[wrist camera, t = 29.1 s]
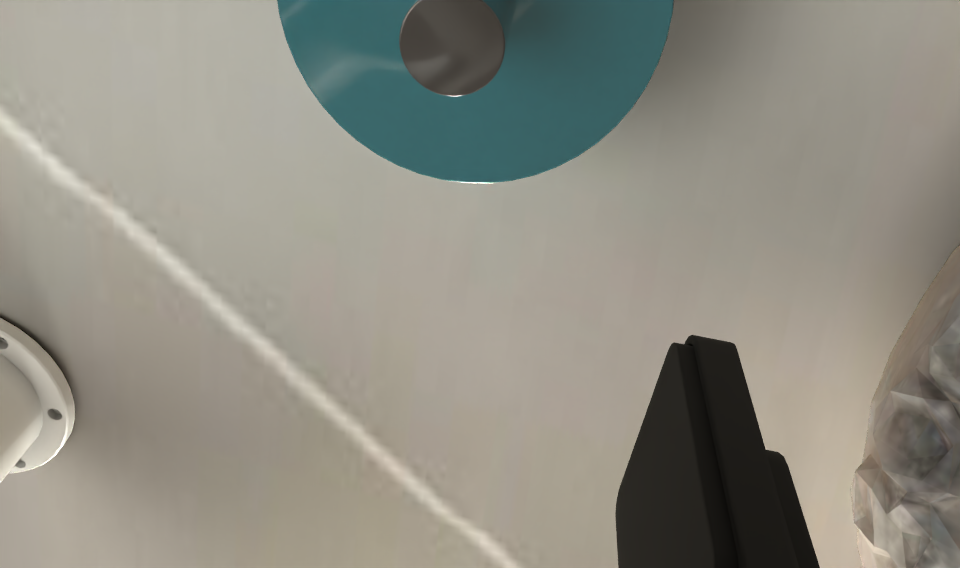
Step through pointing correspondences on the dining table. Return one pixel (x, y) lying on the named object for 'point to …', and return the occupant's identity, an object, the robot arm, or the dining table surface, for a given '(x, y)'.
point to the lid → (477, 77)
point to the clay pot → (915, 441)
